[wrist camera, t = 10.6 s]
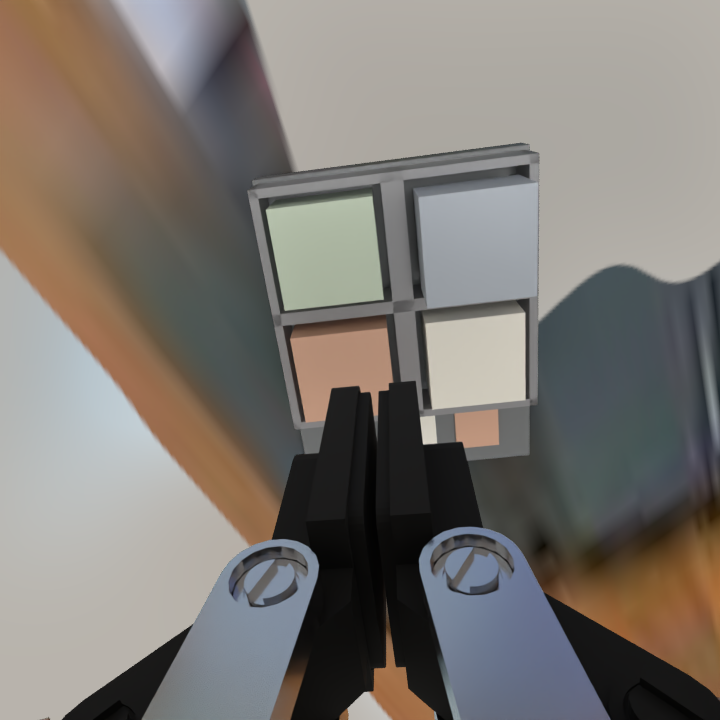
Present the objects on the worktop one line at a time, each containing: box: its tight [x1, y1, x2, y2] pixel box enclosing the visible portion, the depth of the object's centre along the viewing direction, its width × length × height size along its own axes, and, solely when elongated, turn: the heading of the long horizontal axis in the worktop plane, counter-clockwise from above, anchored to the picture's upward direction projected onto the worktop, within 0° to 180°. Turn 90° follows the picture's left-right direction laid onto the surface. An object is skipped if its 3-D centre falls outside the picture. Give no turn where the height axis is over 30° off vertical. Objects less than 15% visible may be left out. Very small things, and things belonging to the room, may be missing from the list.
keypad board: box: [247, 143, 539, 461], centre depth 29 cm, size 13×17×4 cm
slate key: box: [413, 174, 538, 309], centre depth 24 cm, size 5×5×3 cm
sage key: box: [266, 188, 384, 311], centre depth 26 cm, size 5×5×3 cm
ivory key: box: [421, 300, 526, 410], centre depth 28 cm, size 5×5×3 cm
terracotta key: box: [290, 314, 393, 423], centre depth 28 cm, size 5×5×3 cm
